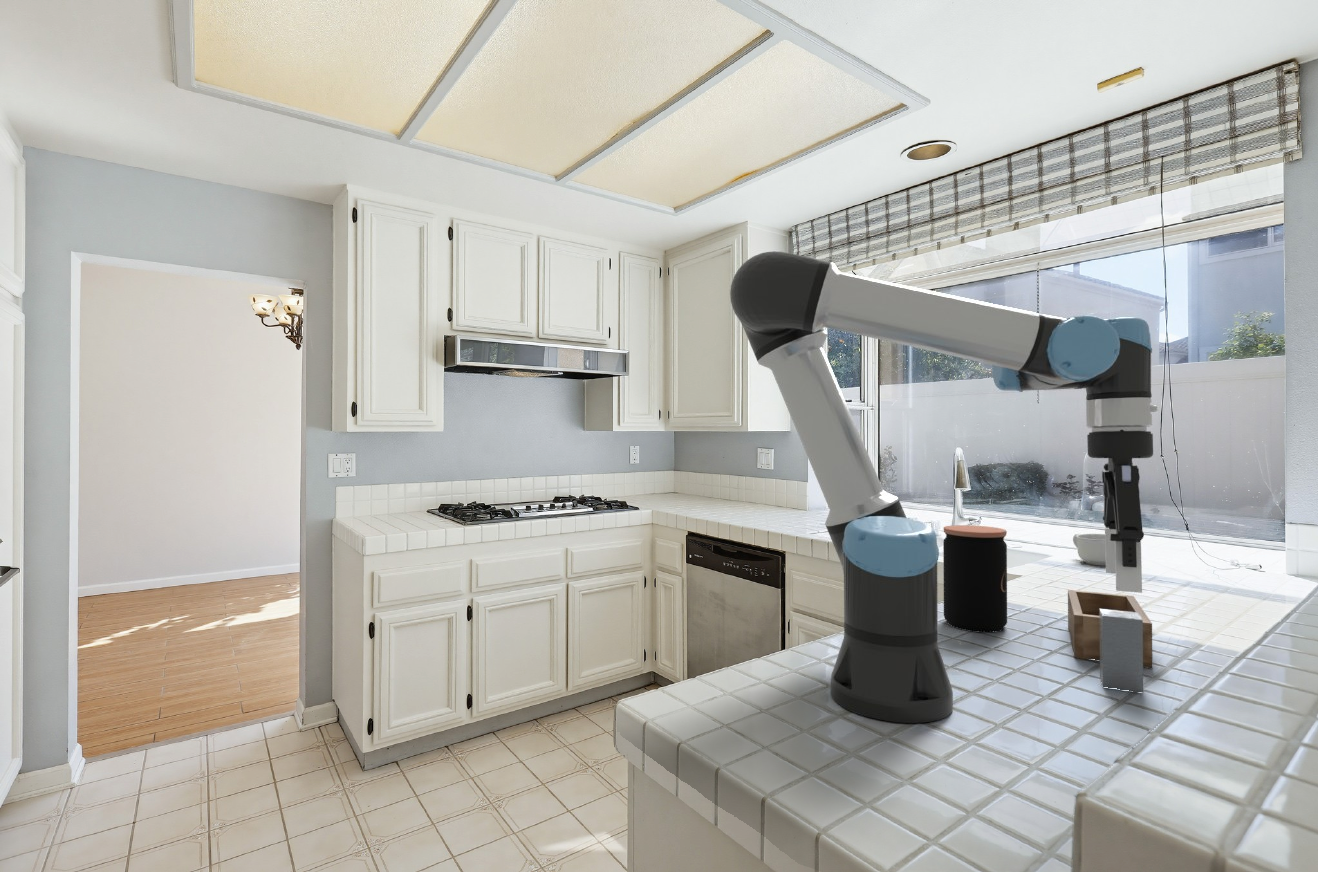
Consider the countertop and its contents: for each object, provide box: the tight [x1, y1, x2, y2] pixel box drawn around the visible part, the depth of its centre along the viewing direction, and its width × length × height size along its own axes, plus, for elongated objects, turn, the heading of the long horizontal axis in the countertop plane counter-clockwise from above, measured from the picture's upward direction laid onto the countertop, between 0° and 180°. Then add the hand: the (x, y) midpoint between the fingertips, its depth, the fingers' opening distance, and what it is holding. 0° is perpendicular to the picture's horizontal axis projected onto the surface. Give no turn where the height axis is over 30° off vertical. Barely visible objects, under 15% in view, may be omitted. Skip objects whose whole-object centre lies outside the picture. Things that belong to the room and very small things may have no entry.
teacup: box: [1072, 533, 1106, 567], centre depth 186 cm, size 14×11×8 cm
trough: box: [1067, 589, 1153, 669], centre depth 109 cm, size 10×21×7 cm, turn 150°
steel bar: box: [1099, 609, 1144, 693], centre depth 91 cm, size 4×4×10 cm
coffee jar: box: [942, 524, 1008, 633], centre depth 121 cm, size 11×11×18 cm
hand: (1122, 581), depth 91 cm, fingers open, 13 cm apart
